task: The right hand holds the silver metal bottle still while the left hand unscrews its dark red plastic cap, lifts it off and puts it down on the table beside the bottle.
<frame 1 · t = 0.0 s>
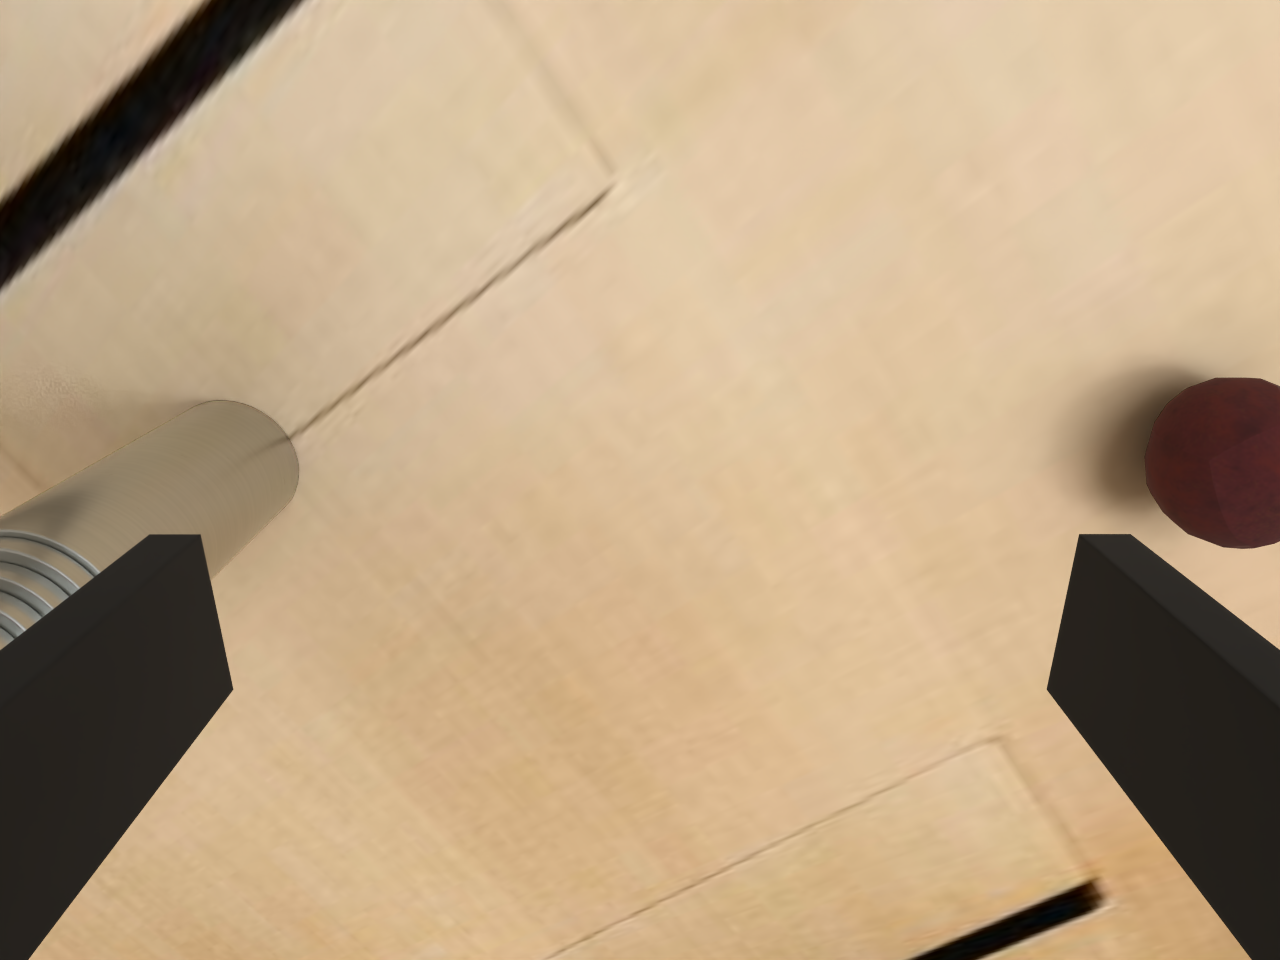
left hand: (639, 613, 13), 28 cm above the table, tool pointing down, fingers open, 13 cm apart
bottle: (233, 462, 42), on the table
dark red plum: (1187, 434, 41), on the table
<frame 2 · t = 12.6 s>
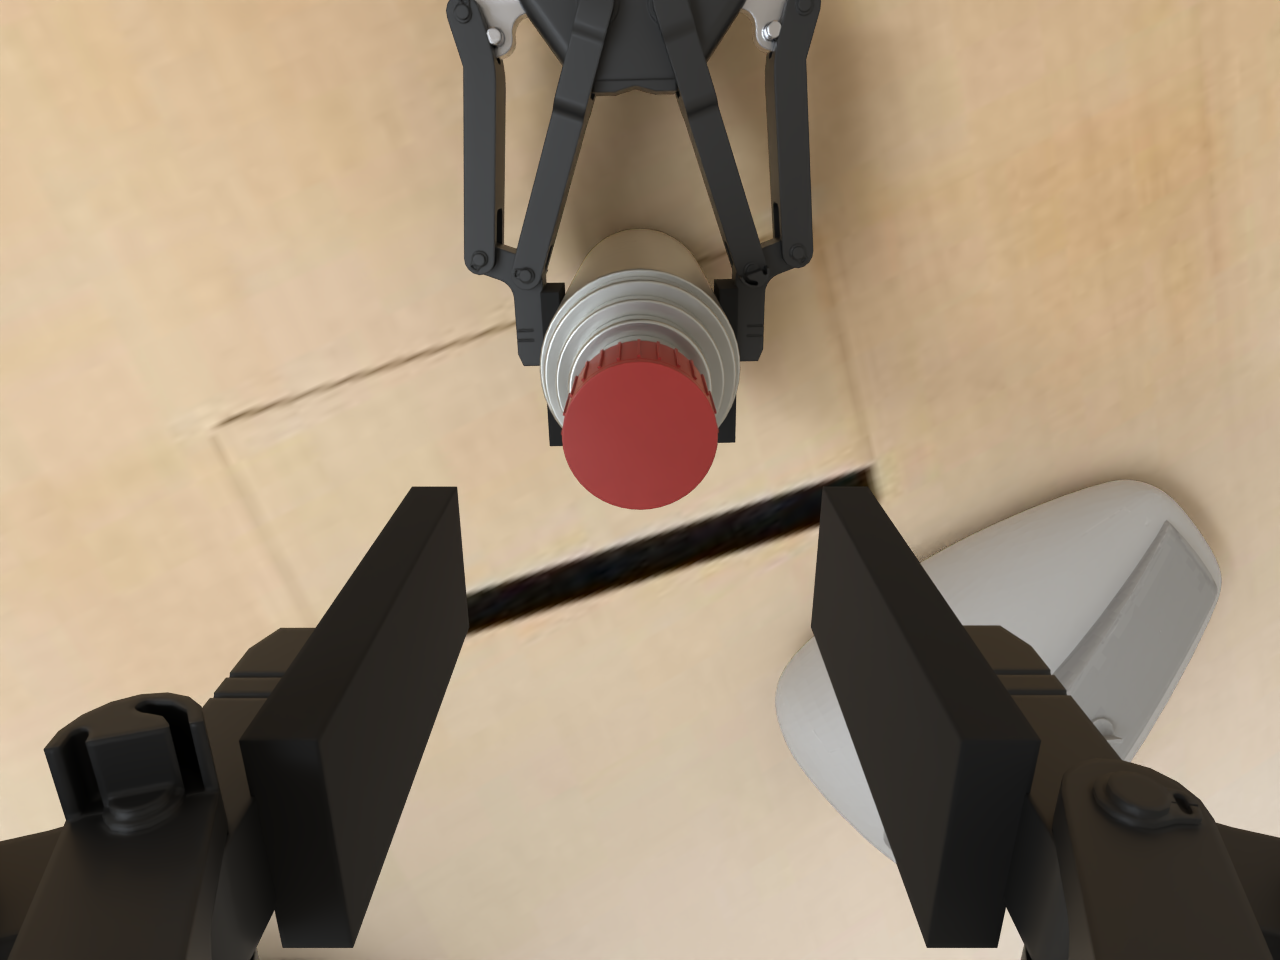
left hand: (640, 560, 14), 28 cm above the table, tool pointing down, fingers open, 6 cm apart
right hand: (642, 433, 37), fingers closed on bottle, 6 cm apart
bottle: (639, 297, 41), on the table, touching right hand
cap: (639, 434, 21), point 22 cm above the table, screwed on, not yet turned
projector: (980, 629, 48), on the table
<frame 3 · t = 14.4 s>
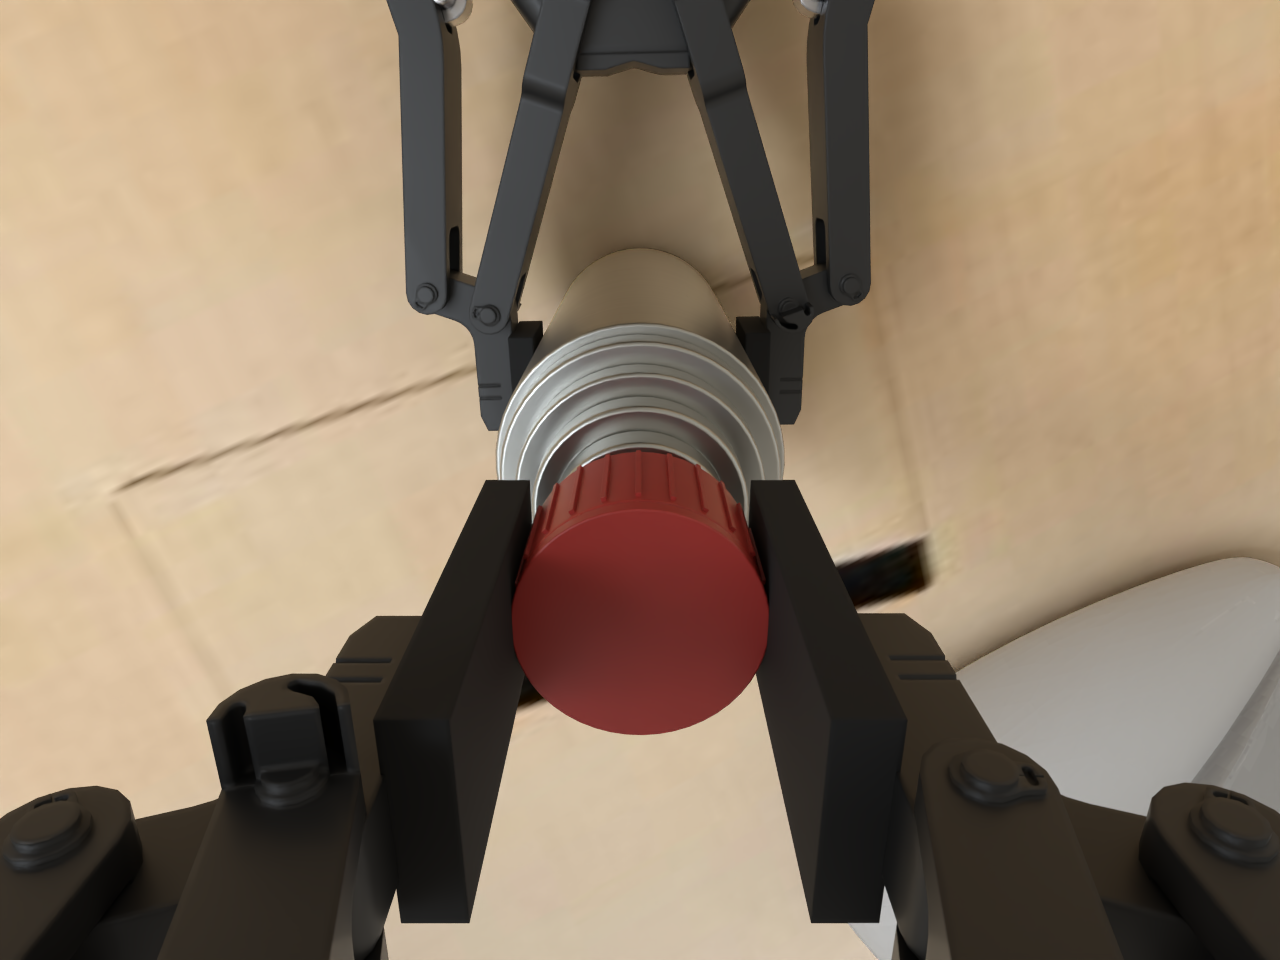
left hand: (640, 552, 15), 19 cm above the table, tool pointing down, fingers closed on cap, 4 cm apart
right hand: (643, 513, 29), fingers closed on bottle, 6 cm apart
bottle: (640, 333, 33), on the table, touching right hand
cap: (640, 618, 13), point 22 cm above the table, screwed on, not yet turned, touching left hand
projector: (1051, 728, 39), on the table
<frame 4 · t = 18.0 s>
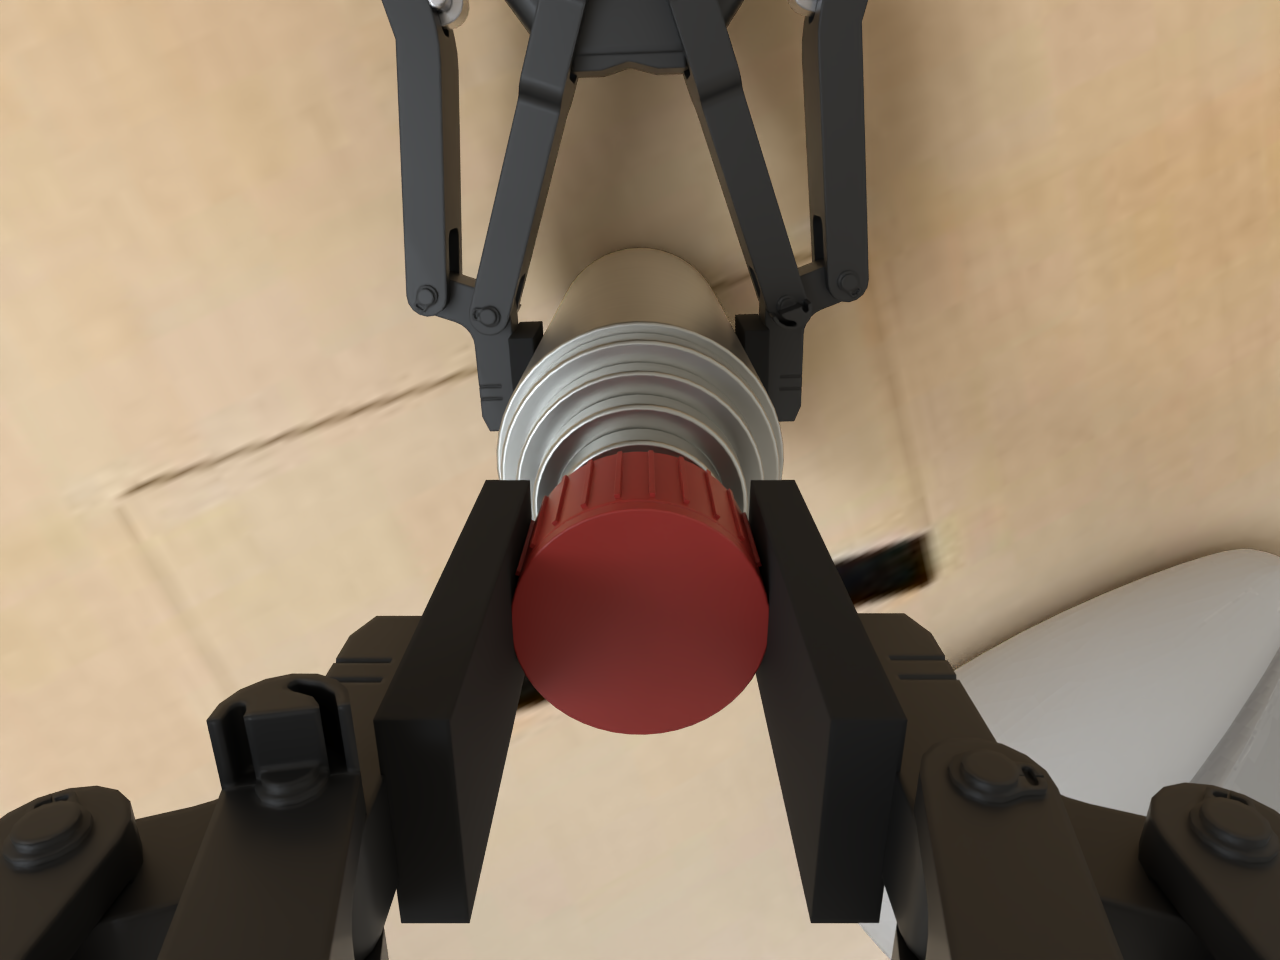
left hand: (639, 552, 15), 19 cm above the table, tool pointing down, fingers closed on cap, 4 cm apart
right hand: (645, 512, 29), fingers closed on bottle, 6 cm apart
bottle: (640, 332, 33), on the table, touching right hand
cap: (640, 618, 13), point 22 cm above the table, turned 128° so far, risen 0.1 cm, still on its thread, touching left hand
projector: (1056, 722, 39), on the table
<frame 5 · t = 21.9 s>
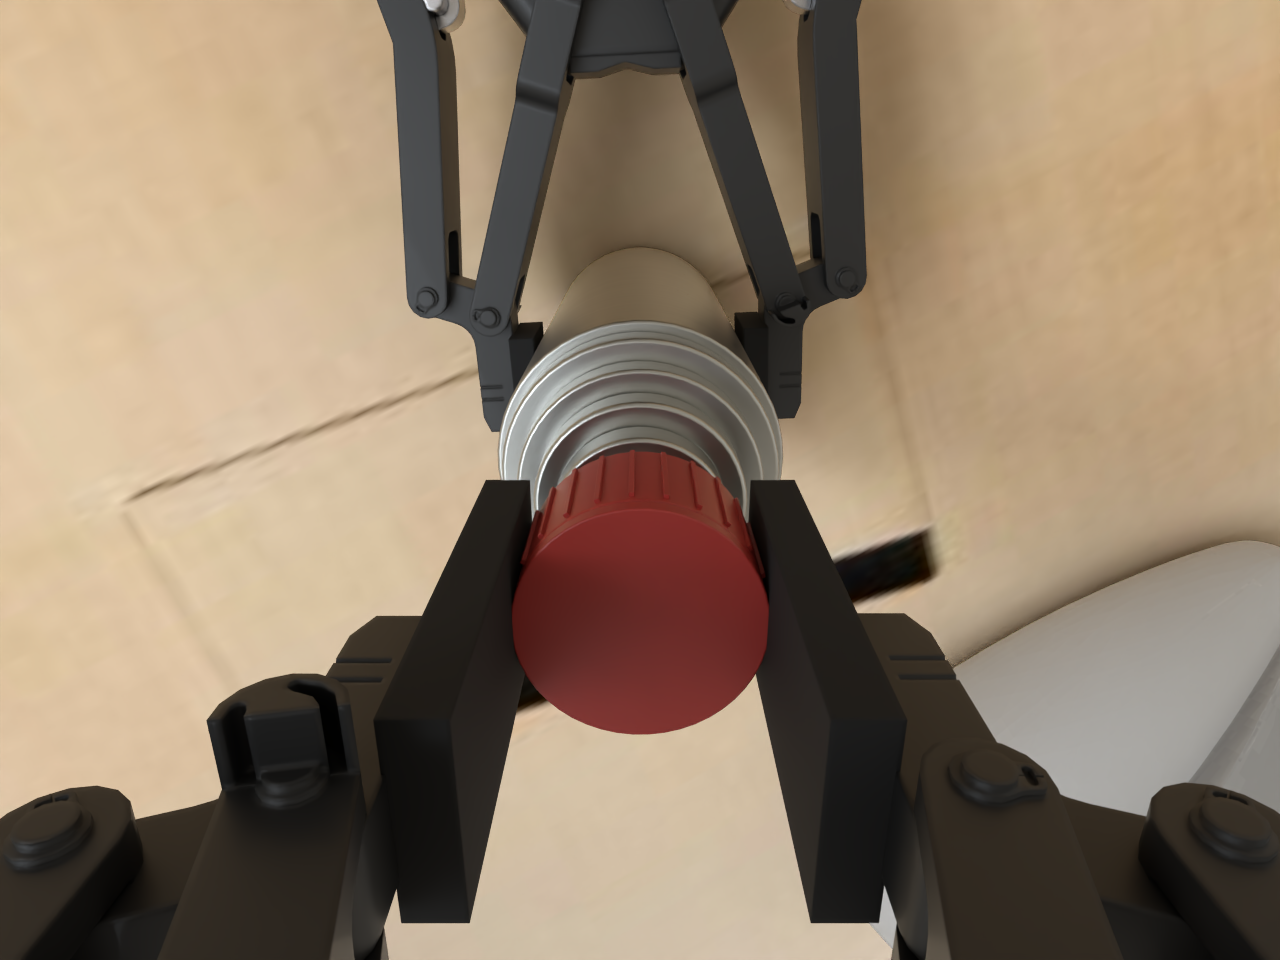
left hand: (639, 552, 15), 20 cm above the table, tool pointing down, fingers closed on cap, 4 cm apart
right hand: (647, 510, 29), fingers closed on bottle, 6 cm apart
bottle: (640, 331, 33), on the table, touching right hand
cap: (640, 618, 13), point 22 cm above the table, turned 257° so far, risen 0.3 cm, still on its thread, touching left hand
projector: (1061, 716, 40), on the table
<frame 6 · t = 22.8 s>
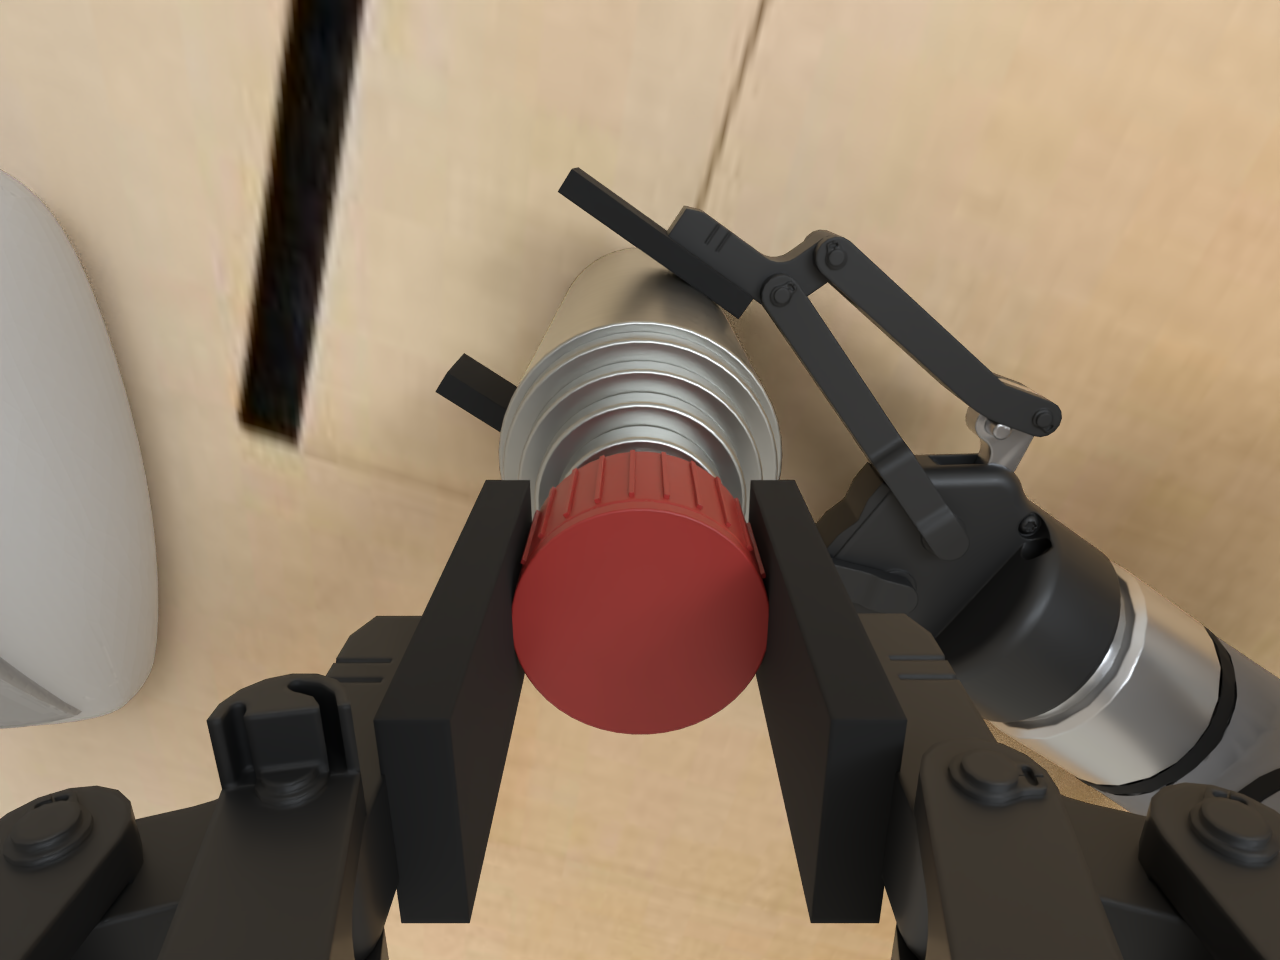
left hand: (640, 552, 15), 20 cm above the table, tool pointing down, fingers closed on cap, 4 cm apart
right hand: (508, 280, 26), fingers closed on bottle, 6 cm apart
bottle: (640, 332, 33), on the table, touching right hand
cap: (640, 618, 13), point 22 cm above the table, off its thread, touching left hand
projector: (2, 449, 35), on the table
when the left hand's fingers open (1 cm above the table, at t = 29.9 s): cap drops 1 cm, point 2 cm above the table.
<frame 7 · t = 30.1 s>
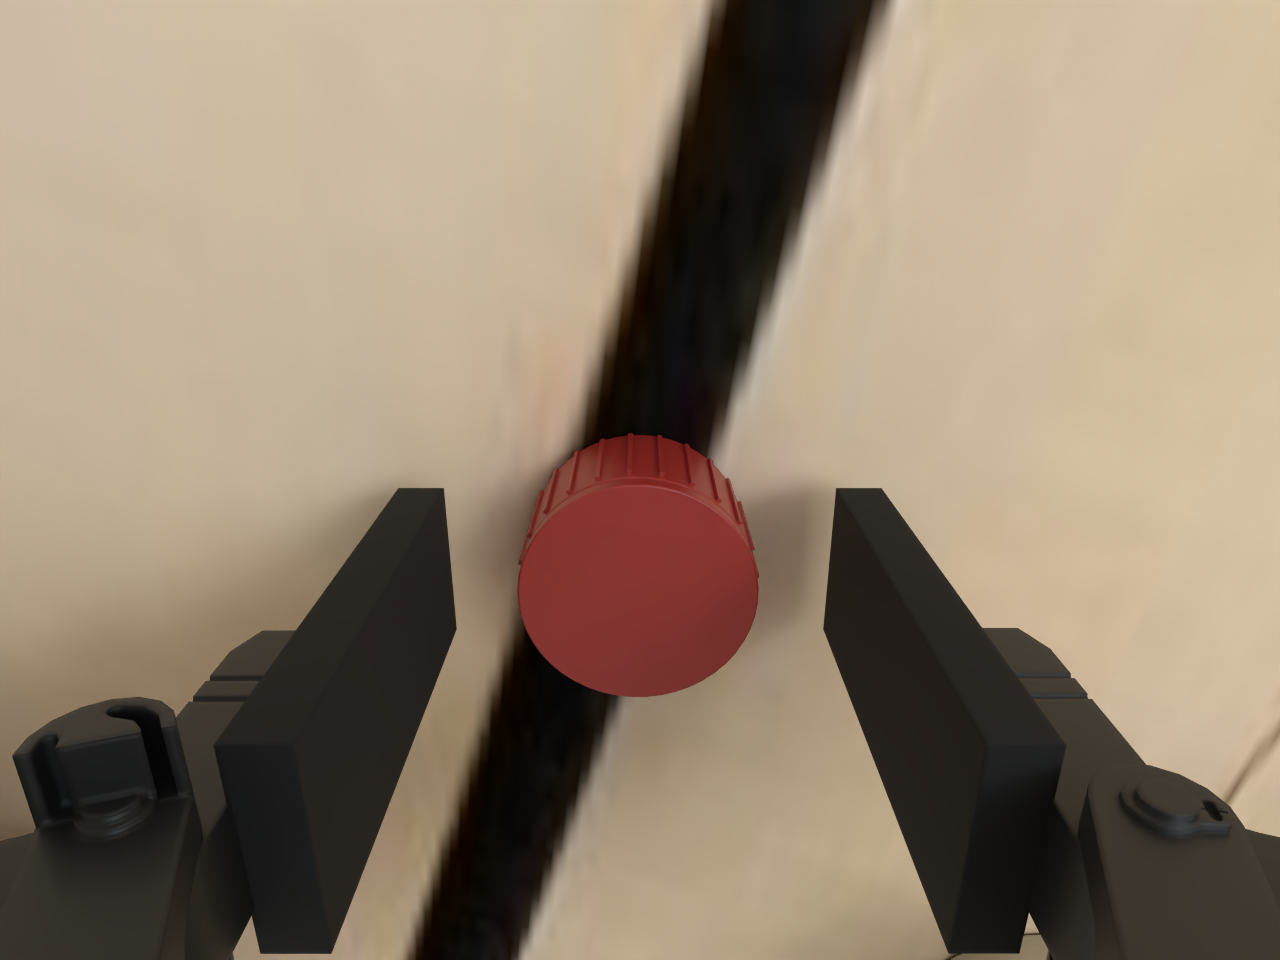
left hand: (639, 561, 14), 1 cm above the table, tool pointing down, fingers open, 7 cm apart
cap: (638, 587, 14), point 2 cm above the table, off its thread
when the right hand's fingers open (6 cm above the table, at t = 31.1 s): bottle stays where it is, on the table.
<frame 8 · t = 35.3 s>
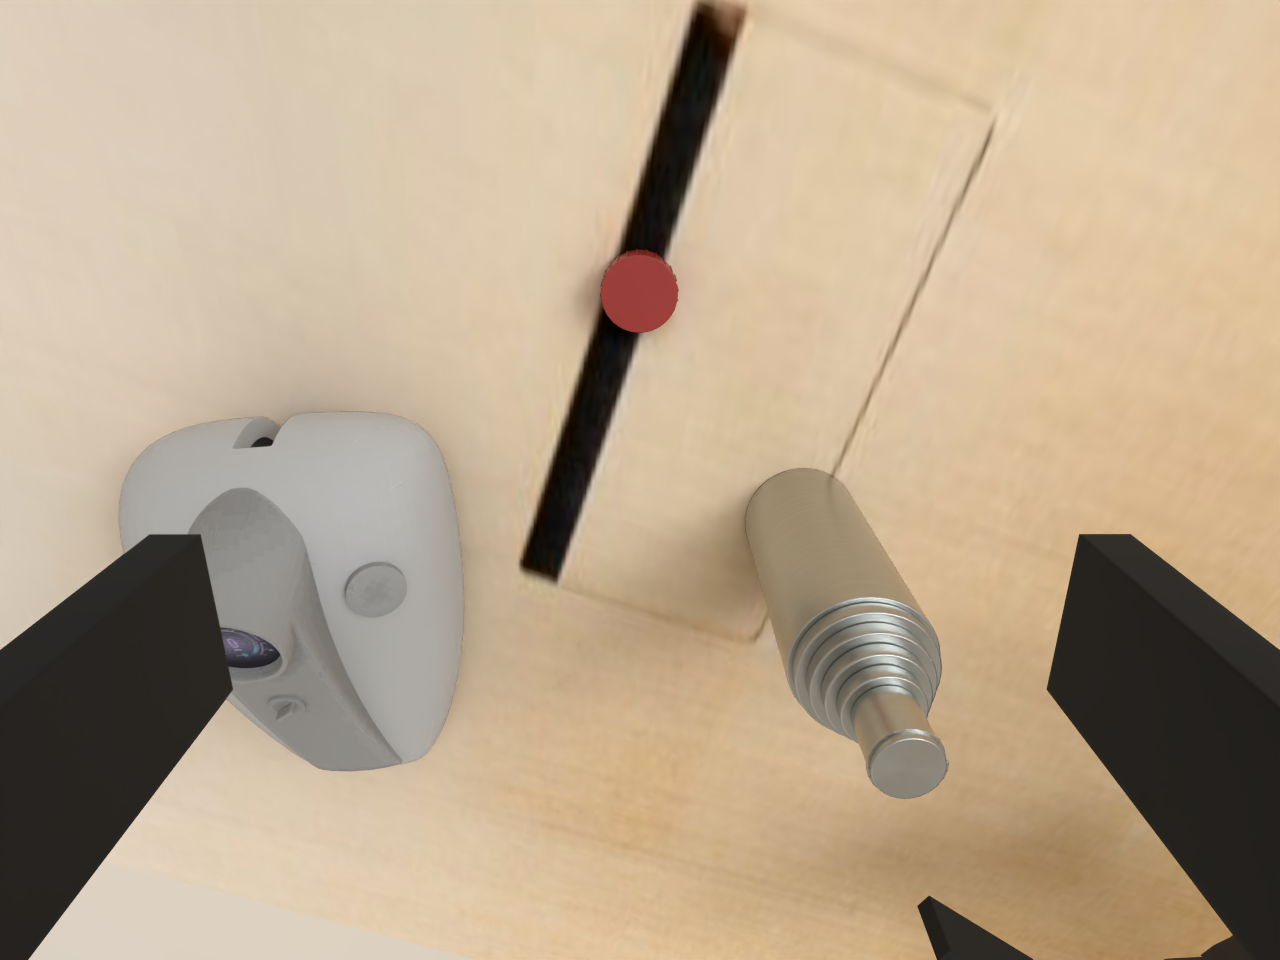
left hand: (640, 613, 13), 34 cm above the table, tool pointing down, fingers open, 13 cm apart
bottle: (800, 519, 49), on the table
cap: (639, 293, 42), point 2 cm above the table, off its thread
projector: (354, 578, 51), on the table
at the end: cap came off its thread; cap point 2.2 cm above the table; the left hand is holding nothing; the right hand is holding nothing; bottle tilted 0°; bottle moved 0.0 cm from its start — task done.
